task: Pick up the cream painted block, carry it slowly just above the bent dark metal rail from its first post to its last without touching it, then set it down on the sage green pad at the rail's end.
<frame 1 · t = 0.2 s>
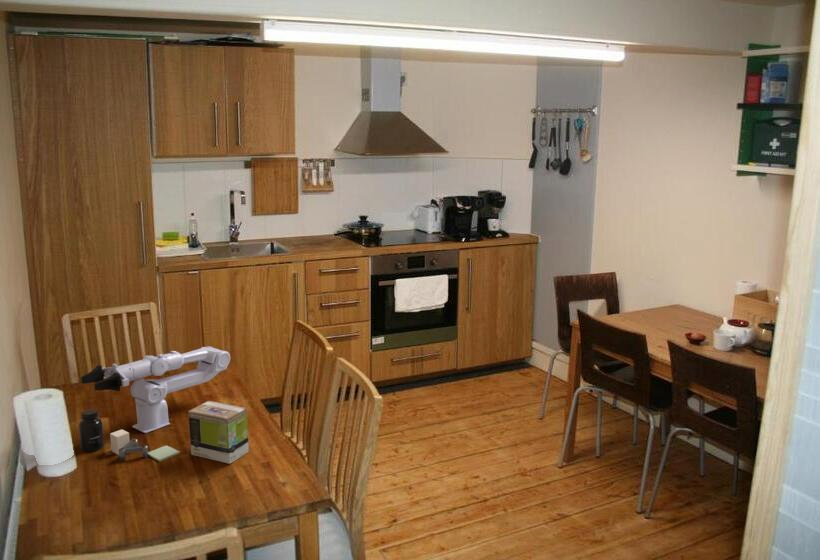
hand: (88, 383, 229), 21 cm above the table, tool horizontal, fingers open, 7 cm apart
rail: (131, 456, 228), on the table
block: (121, 451, 231), on the table
supplement bottle: (92, 448, 234), on the table
tea box: (220, 454, 230), on the table
pad: (163, 454, 229), on the table
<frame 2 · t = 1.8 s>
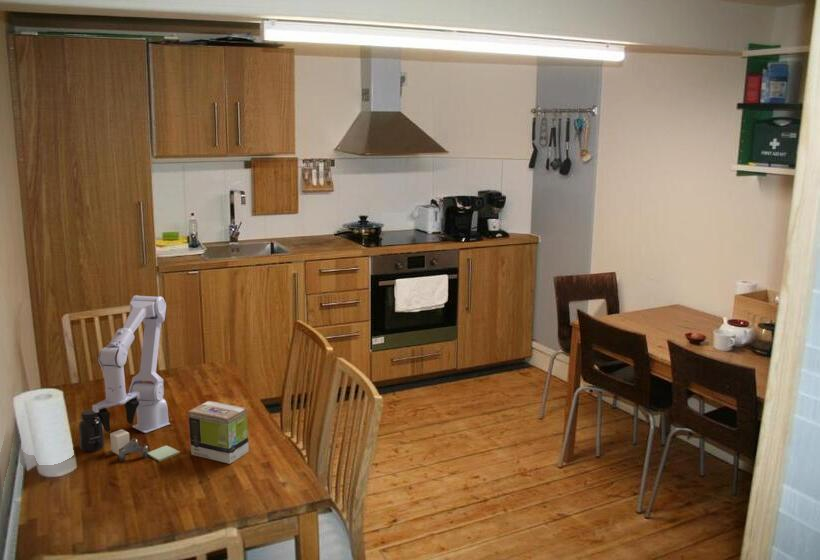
hand: (118, 426, 230), 8 cm above the table, tool pointing down, fingers open, 7 cm apart
nothing on the table moved.
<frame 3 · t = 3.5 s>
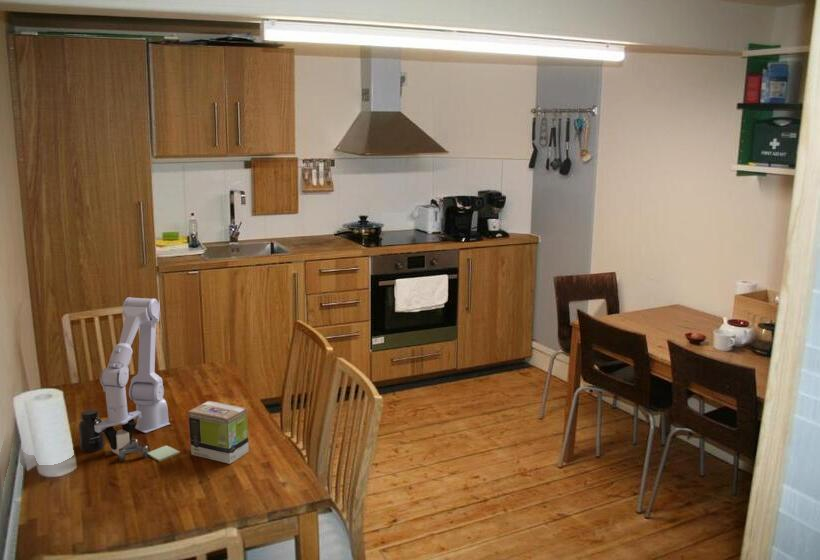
hand: (120, 446, 231), 2 cm above the table, tool pointing down, fingers closed on block, 4 cm apart
block: (121, 450, 231), on the table, touching gripper
everything else where it was.
when the fingers open (4 cm above the table, at t = 9.3 s): block stays where it is, resting on pad.
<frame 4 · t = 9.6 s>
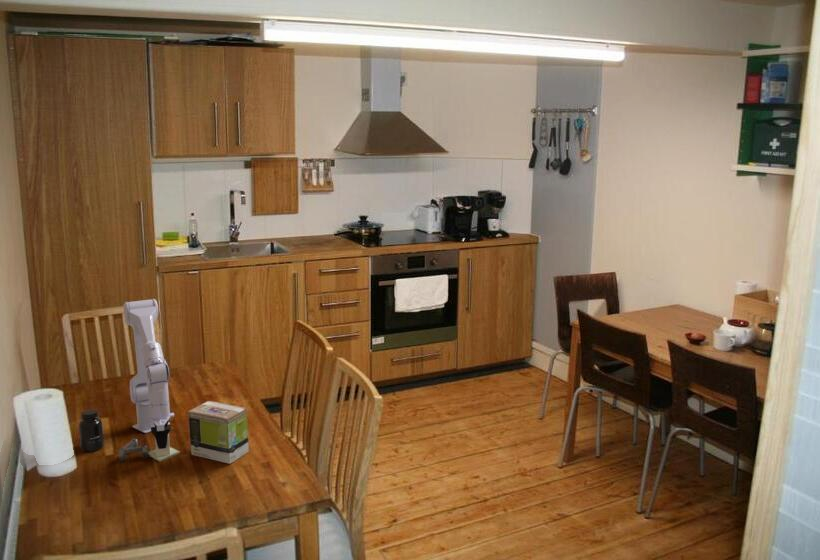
hand: (162, 443, 229), 4 cm above the table, tool pointing down, fingers open, 6 cm apart
block: (163, 452, 229), point 1 cm above the table, touching pad
everything else where it was.
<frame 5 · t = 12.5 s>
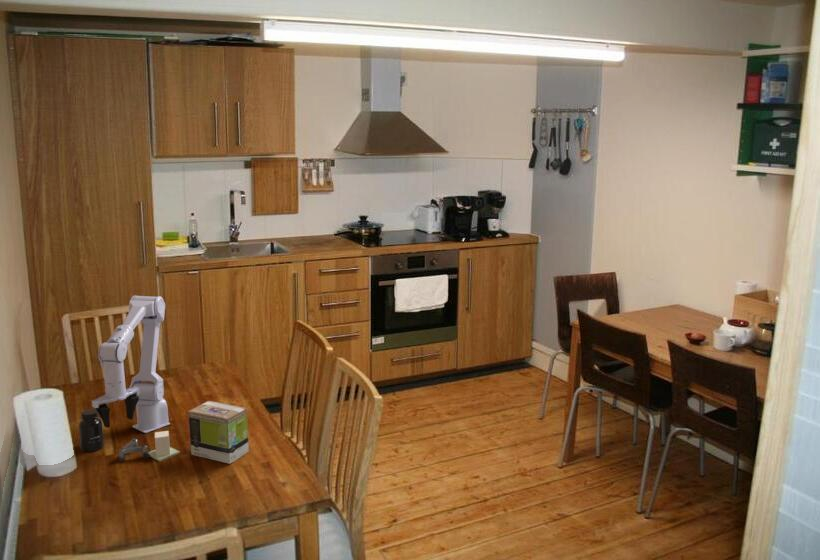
hand: (118, 422, 228), 10 cm above the table, tool pointing down, fingers open, 7 cm apart
nothing on the table moved.
at the end: block 0.0 cm off-centre on the pad, point 0.6 cm above the pad's base; block tilted 0°; block touching pad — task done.
